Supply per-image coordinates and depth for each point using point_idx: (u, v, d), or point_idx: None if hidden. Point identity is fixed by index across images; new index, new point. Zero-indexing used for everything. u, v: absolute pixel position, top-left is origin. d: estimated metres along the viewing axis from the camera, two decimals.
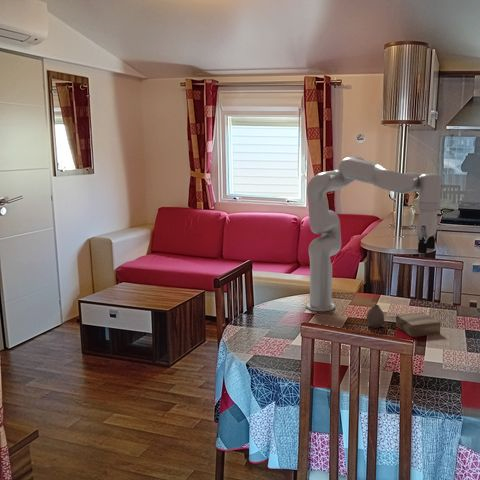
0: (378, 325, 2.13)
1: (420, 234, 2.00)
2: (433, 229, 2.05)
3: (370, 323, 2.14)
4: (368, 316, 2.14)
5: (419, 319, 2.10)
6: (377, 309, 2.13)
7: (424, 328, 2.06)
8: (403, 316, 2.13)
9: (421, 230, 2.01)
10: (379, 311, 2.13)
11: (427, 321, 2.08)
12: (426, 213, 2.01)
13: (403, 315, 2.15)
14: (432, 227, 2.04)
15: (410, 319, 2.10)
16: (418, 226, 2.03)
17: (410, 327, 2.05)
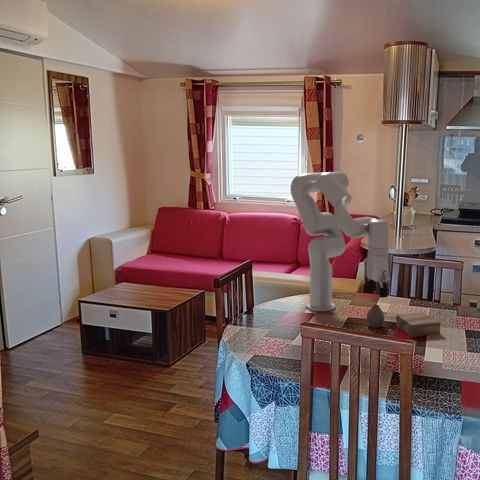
0: (378, 325, 2.13)
1: (389, 279, 2.04)
2: None
3: (370, 323, 2.14)
4: (368, 316, 2.14)
5: (419, 319, 2.10)
6: (377, 309, 2.13)
7: (424, 328, 2.06)
8: (403, 316, 2.14)
9: (387, 275, 2.05)
10: (379, 311, 2.13)
11: (427, 321, 2.08)
12: (385, 258, 2.06)
13: (404, 315, 2.15)
14: None
15: (410, 319, 2.10)
16: (379, 272, 2.06)
17: (409, 327, 2.06)
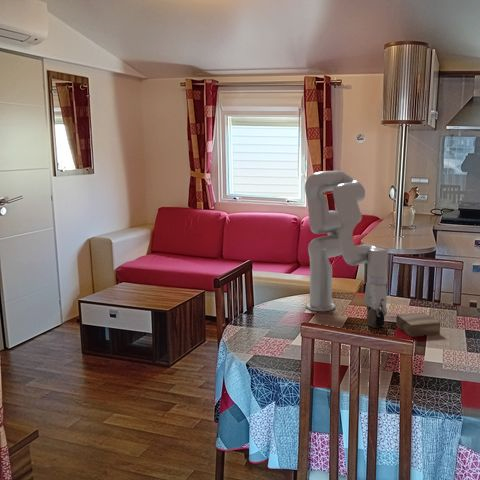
0: None
1: (385, 310, 2.07)
2: None
3: (370, 323, 2.14)
4: (368, 316, 2.14)
5: (419, 319, 2.10)
6: None
7: (424, 328, 2.06)
8: (403, 316, 2.14)
9: (384, 306, 2.08)
10: (379, 311, 2.13)
11: (426, 321, 2.08)
12: (383, 287, 2.09)
13: (404, 315, 2.15)
14: None
15: (409, 319, 2.10)
16: (377, 300, 2.09)
17: (409, 327, 2.06)
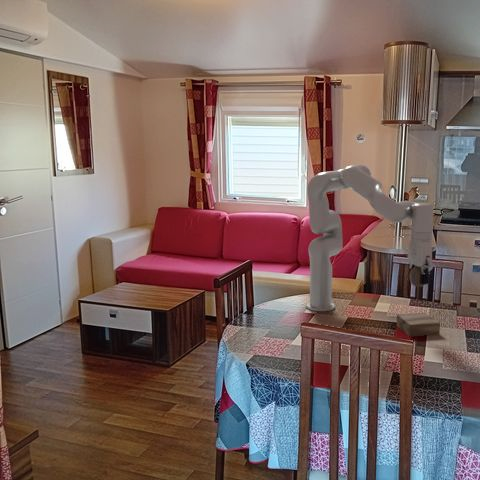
0: None
1: (431, 267, 1.99)
2: None
3: (414, 281, 2.06)
4: (412, 274, 2.06)
5: (419, 319, 2.10)
6: None
7: (423, 328, 2.06)
8: (403, 316, 2.14)
9: (430, 262, 2.00)
10: None
11: (426, 321, 2.08)
12: (429, 243, 2.01)
13: (404, 315, 2.15)
14: None
15: (409, 319, 2.10)
16: (423, 257, 2.01)
17: (408, 327, 2.06)
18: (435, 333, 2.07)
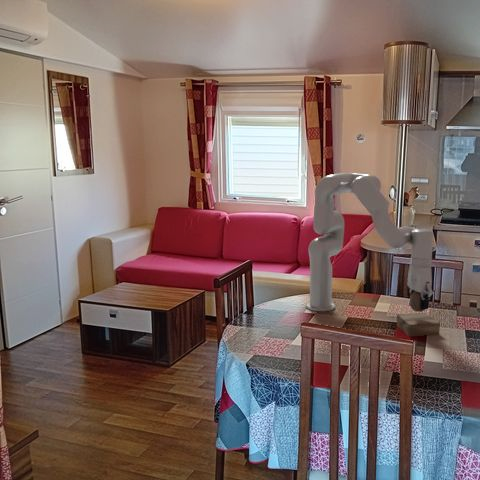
0: None
1: (431, 293, 2.01)
2: None
3: (414, 306, 2.08)
4: (412, 299, 2.08)
5: (419, 319, 2.10)
6: None
7: (423, 328, 2.06)
8: (403, 316, 2.14)
9: (429, 288, 2.02)
10: None
11: (426, 321, 2.07)
12: (429, 269, 2.03)
13: (404, 314, 2.15)
14: None
15: (409, 319, 2.10)
16: (422, 283, 2.03)
17: (408, 326, 2.06)
18: (435, 333, 2.07)
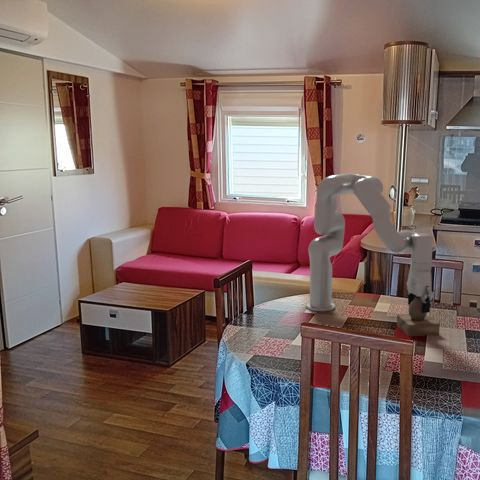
0: (421, 317, 2.08)
1: (432, 295, 2.01)
2: None
3: (413, 316, 2.09)
4: (411, 308, 2.09)
5: None
6: (420, 301, 2.08)
7: (422, 328, 2.06)
8: (403, 316, 2.14)
9: (430, 291, 2.02)
10: None
11: (426, 322, 2.07)
12: (428, 273, 2.03)
13: (404, 315, 2.16)
14: None
15: (409, 319, 2.10)
16: (422, 287, 2.03)
17: (407, 327, 2.06)
18: (435, 334, 2.06)
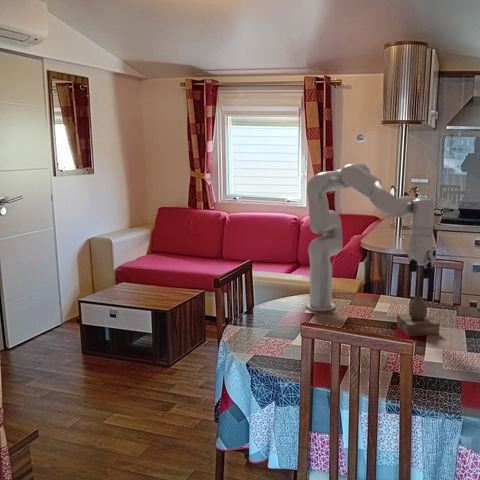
0: (422, 317, 2.08)
1: (434, 260, 1.98)
2: None
3: (414, 316, 2.08)
4: (411, 309, 2.09)
5: None
6: (421, 301, 2.08)
7: (422, 328, 2.06)
8: (403, 316, 2.14)
9: (431, 256, 1.99)
10: (423, 303, 2.08)
11: (425, 322, 2.07)
12: (430, 238, 2.01)
13: (404, 315, 2.16)
14: None
15: (409, 319, 2.10)
16: (424, 252, 2.01)
17: (407, 327, 2.06)
18: (434, 334, 2.06)
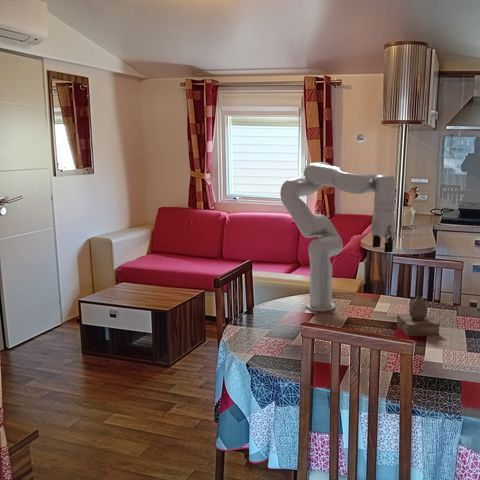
0: (423, 317, 2.08)
1: (394, 234, 2.06)
2: None
3: (415, 316, 2.08)
4: (413, 309, 2.08)
5: (419, 320, 2.10)
6: (422, 301, 2.08)
7: (422, 328, 2.05)
8: (403, 316, 2.14)
9: (392, 230, 2.06)
10: (424, 303, 2.08)
11: (425, 322, 2.07)
12: (391, 213, 2.08)
13: (405, 315, 2.16)
14: None
15: (409, 319, 2.10)
16: (385, 227, 2.08)
17: (407, 327, 2.06)
18: (434, 334, 2.06)
